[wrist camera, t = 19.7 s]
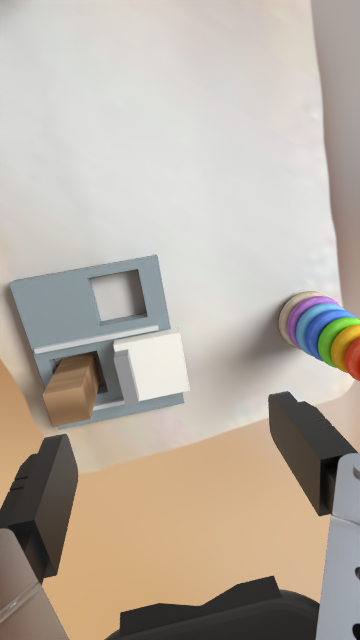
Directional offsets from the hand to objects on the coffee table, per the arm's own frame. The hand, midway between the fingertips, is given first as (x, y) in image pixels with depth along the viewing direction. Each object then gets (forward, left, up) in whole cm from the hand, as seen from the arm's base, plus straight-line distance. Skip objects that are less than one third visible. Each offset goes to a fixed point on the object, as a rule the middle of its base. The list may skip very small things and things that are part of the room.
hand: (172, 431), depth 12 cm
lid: (+9, -1, -26) cm, 28 cm away
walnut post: (+9, -11, -28) cm, 32 cm away
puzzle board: (+6, -7, -28) cm, 30 cm away
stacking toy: (+8, +20, -29) cm, 36 cm away
